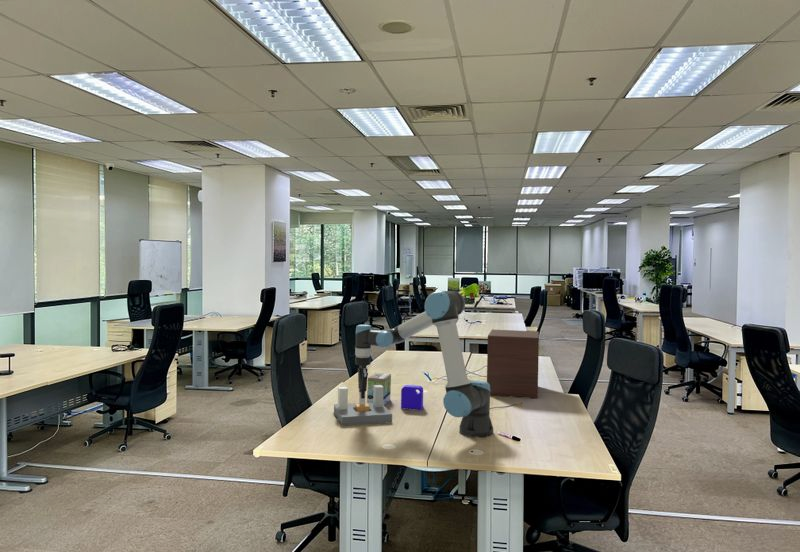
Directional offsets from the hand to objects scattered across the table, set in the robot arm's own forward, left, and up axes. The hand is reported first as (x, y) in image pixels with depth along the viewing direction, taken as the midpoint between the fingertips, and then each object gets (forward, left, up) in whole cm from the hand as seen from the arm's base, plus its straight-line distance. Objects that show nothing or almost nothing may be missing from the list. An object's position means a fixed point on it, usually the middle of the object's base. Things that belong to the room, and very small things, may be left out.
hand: (362, 404), depth 259 cm
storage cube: (+38, -102, -7) cm, 109 cm away
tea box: (+27, -15, -7) cm, 31 cm away
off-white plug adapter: (+4, +9, -2) cm, 10 cm away
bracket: (+17, -32, -7) cm, 37 cm away
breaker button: (0, 0, -5) cm, 5 cm away
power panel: (0, 0, -6) cm, 6 cm away
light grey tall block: (+4, -9, -2) cm, 10 cm away
